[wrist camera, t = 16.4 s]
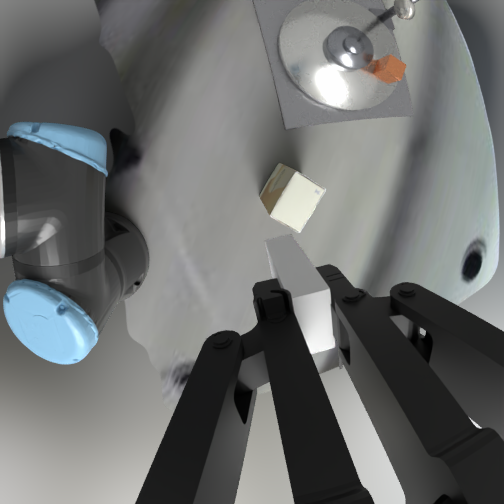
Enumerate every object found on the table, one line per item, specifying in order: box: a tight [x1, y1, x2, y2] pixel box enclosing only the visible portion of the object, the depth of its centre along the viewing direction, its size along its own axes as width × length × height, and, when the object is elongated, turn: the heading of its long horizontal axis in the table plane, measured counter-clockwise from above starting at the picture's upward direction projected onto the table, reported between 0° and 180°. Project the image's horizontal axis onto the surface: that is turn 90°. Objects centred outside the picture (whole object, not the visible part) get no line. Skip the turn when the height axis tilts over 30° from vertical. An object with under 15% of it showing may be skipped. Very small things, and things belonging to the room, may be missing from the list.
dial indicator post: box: [369, 0, 419, 30], centre depth 29 cm, size 4×6×13 cm
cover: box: [323, 26, 374, 72], centre depth 33 cm, size 7×7×4 cm
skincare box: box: [259, 163, 326, 233], centre depth 39 cm, size 6×4×12 cm
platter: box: [278, 0, 406, 111], centre depth 34 cm, size 20×20×5 cm
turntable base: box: [252, 0, 413, 130], centre depth 37 cm, size 23×23×1 cm
